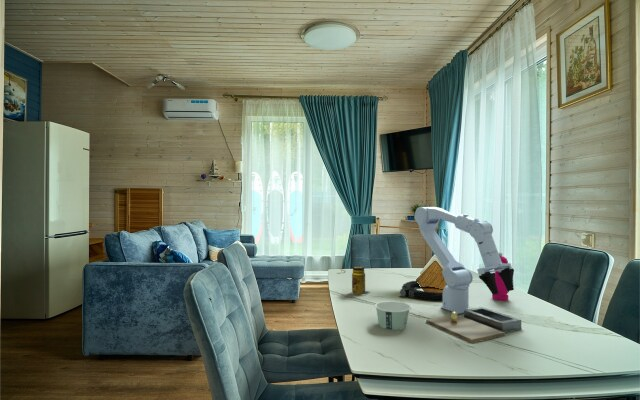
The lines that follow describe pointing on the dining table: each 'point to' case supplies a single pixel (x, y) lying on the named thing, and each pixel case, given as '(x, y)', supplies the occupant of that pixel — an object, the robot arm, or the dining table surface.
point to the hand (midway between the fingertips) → (503, 292)
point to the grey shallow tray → (493, 319)
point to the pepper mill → (500, 283)
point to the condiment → (358, 281)
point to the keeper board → (465, 328)
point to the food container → (392, 314)
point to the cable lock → (419, 292)
